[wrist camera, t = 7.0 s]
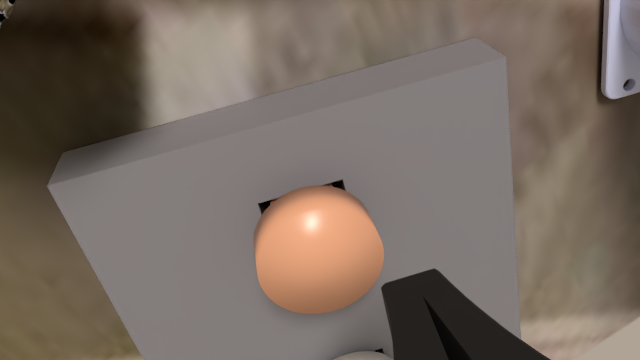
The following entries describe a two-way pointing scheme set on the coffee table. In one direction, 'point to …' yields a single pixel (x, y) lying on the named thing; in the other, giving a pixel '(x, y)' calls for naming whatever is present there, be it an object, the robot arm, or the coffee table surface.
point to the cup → (6, 9)
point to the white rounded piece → (364, 356)
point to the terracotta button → (317, 250)
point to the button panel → (290, 174)
